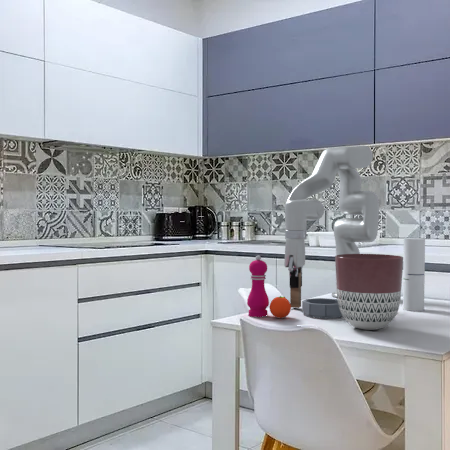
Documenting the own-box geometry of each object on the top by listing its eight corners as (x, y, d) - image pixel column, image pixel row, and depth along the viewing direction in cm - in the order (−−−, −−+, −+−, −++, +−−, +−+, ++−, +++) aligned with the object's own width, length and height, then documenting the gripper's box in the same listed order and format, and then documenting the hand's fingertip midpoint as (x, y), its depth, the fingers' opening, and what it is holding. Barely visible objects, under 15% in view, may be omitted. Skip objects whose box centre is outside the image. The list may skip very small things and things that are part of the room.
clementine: (276, 314, 194) (276, 293, 194) (295, 316, 190) (295, 295, 190) (265, 318, 187) (265, 296, 187) (285, 320, 184) (285, 298, 183)
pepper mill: (243, 316, 191) (243, 255, 190) (252, 313, 197) (252, 254, 196) (263, 318, 187) (263, 256, 187) (272, 314, 194) (272, 255, 193)
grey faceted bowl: (309, 310, 203) (310, 297, 203) (346, 313, 197) (347, 299, 197) (298, 316, 191) (298, 302, 191) (337, 319, 185) (337, 305, 185)
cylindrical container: (420, 311, 200) (421, 239, 199) (399, 309, 204) (400, 238, 203) (427, 309, 206) (427, 238, 205) (407, 307, 210) (407, 237, 209)
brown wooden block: (293, 305, 208) (293, 272, 207) (301, 306, 206) (301, 272, 206) (290, 307, 205) (290, 273, 205) (298, 307, 204) (298, 273, 203)
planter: (353, 319, 186) (353, 252, 185) (412, 327, 173) (413, 256, 173) (322, 329, 171) (323, 256, 170) (385, 338, 158) (386, 260, 158)
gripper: (293, 233, 214) (292, 283, 214) (277, 236, 199) (277, 289, 200) (312, 234, 211) (312, 284, 211) (299, 236, 196) (298, 291, 196)
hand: (295, 286), depth 205 cm, fingers closed on brown wooden block, 3 cm apart
